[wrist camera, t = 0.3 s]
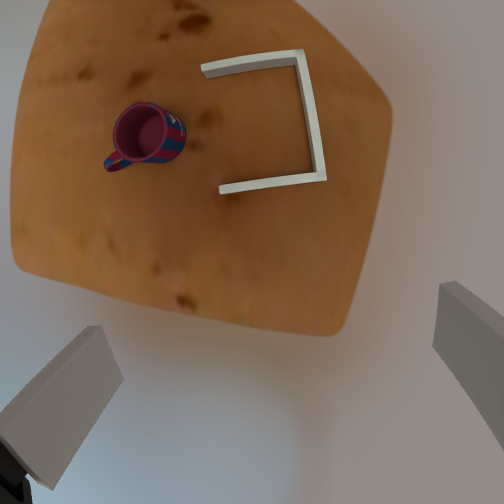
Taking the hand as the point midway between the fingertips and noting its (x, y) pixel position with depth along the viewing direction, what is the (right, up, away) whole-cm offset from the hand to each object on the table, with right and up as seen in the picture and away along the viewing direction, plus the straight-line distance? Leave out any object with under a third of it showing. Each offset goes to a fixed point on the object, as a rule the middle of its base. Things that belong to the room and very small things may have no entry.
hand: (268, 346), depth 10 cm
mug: (-13, +17, +25) cm, 33 cm away
